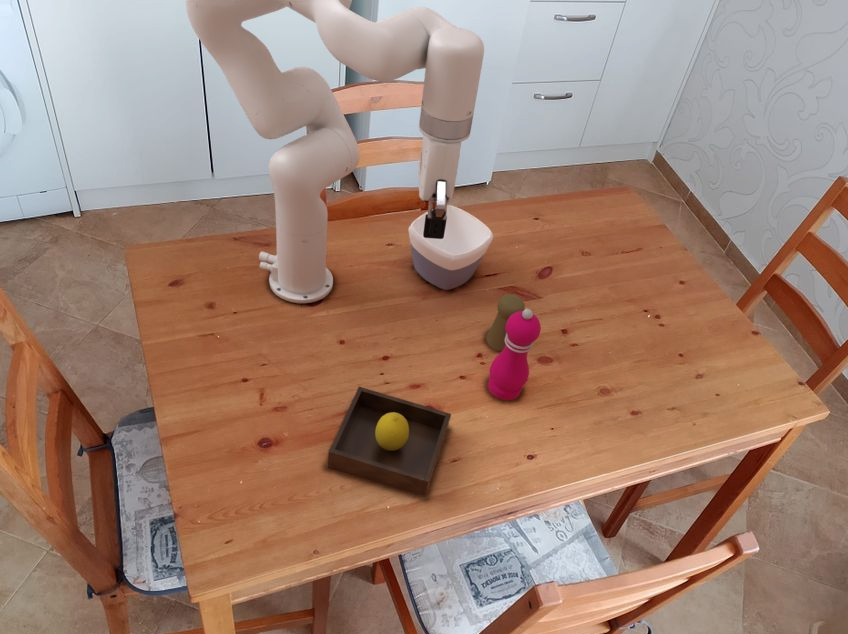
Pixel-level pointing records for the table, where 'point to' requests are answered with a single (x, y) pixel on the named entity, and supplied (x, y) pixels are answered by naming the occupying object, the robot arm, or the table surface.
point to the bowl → (450, 249)
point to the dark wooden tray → (393, 468)
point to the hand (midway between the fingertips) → (431, 218)
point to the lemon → (392, 431)
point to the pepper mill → (514, 356)
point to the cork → (503, 320)
